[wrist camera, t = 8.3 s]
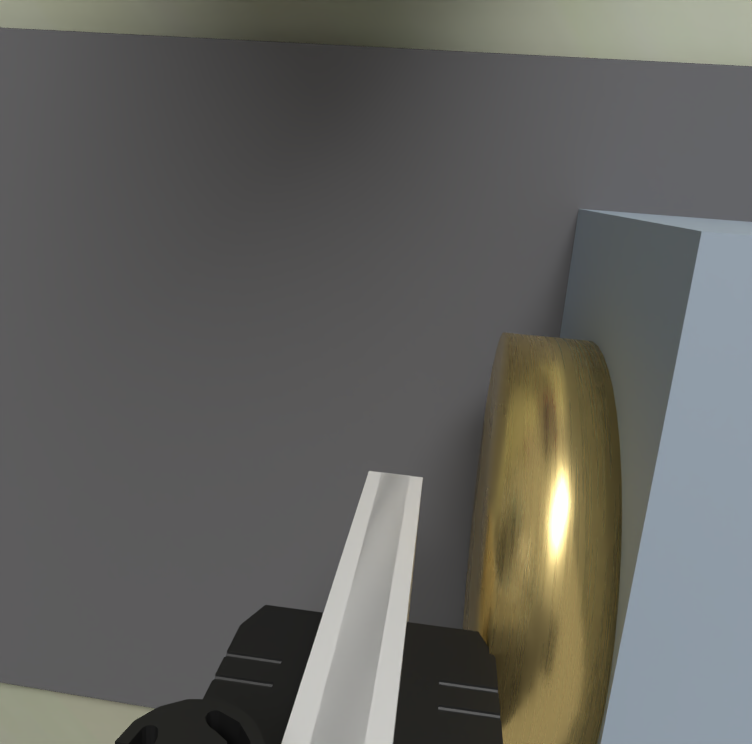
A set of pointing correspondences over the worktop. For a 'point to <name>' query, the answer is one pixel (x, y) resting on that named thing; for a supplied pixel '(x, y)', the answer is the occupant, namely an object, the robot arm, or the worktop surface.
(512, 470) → the pin
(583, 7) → the worktop surface
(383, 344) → the mat
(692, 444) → the block
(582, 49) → the worktop surface
